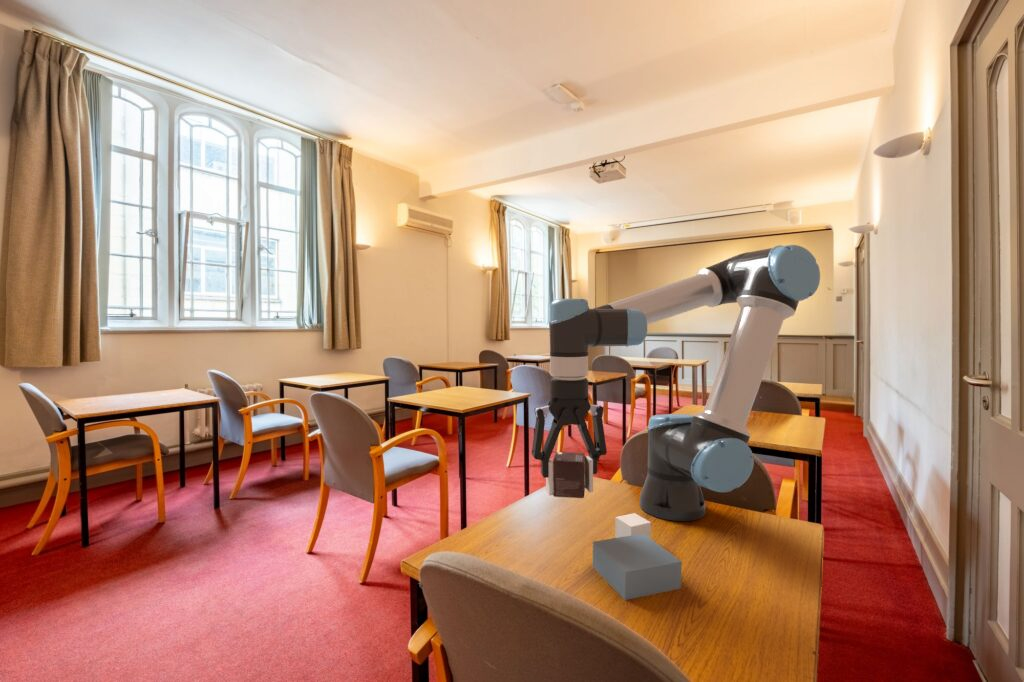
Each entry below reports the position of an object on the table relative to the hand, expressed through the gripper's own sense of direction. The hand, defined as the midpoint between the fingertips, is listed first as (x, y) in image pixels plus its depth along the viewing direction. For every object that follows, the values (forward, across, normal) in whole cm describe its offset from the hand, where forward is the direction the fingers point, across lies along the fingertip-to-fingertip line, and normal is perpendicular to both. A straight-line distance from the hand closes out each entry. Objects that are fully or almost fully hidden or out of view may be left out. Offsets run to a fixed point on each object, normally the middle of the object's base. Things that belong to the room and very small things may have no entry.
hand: (569, 491), depth 93 cm
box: (+1, 0, 0) cm, 1 cm away
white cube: (+12, -13, 0) cm, 18 cm away
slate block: (+12, -8, +12) cm, 19 cm away
